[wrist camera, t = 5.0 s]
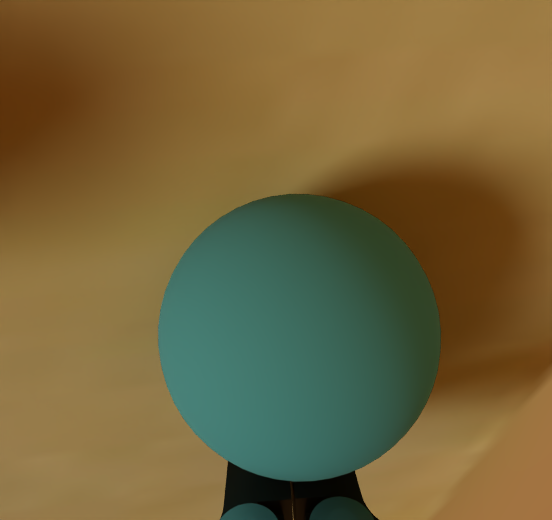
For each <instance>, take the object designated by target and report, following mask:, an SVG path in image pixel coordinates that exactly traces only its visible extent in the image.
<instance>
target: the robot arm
mask: <svg viewBox="0 0 552 520" xmlns="http://www.w3.org/2000/svg"><path fill="white" fill-rule="evenodd" d="M292 506H293V512H292ZM293 518H294V520H379V519H377V518H376V517H375V516H374V515H373V514H372V513H371V512H370V510H369V509H368V508H367V506H366V504H365V503H364V501H363V498H362V495H361V492H360V488H359V484H358V481H357V477H356V474H355V471H352V472H350V473H348V474H344V475H341V476H337V477H334V478H330V479H324V480H317V481H286V480H277V479H272V478H268V477H264V476H260V475H257V474H255V473H252V472H250V471H247V470H245V469H242V468H240V467H238V466H237V465H235V464H233V463H231V462H229V461H228V467H227V478H226V488H225V498H224V507H223V513H222V516H221V518H220V520H293Z"/></svg>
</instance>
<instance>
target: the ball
mask: <svg viewBox="0 0 552 520" xmlns="http://www.w3.org/2000/svg"><path fill="white" fill-rule="evenodd" d="M158 346H159V353H160V360H161V366H162V370H163V374H164V377H165V381H166V384H167V387H168V390H169V392H170V394H171V397H172V399H173V401H174V404H175V405H176V407H177V409H178V410H179V412H180V414H181V415H182V417H183V419H184V420H185V421H186V423H187V424H188V425H189V426H190V428H191V429H192V430H193V431H194V433H195V434H196V435H197V436H198V437H199V438H200V439H201V440H202V441H203V442H204V443H206V444H207V445H208V446H209V447H210V448H211V449H212V450H214V451H215V452H216V453H218V454H219V455H220V456H222V457H223V458H224V459H226V460H227V461H229V462H231V463H233V464H235V465H237V466H238V467H240V468H242V469H245V470H247V471H250V472H252V473H255V474H257V475H260V476H264V477H268V478H272V479H277V480H286V481H317V480H324V479H330V478H334V477H337V476H341V475H344V474H348V473H350V472H352V471H355V470H357V469H359V468H362V467H364V466H366V465H367V464H369V463H371V462H372V461H374V460H376V459H378V458H379V457H381V456H382V455H383V454H384V453H386V452H387V451H388V450H390V449H391V448H392V447H393V446H394V445H395V444H396V443H397V442H398V441H399V440H400V439H401V438H402V437H403V436H404V435H405V434H406V433H407V432H408V431H409V429H410V428H411V427H412V425H413V424H414V423H415V421H416V420H417V419H418V417H419V415H420V414H421V412H422V410H423V408H424V407H425V405H426V403H427V401H428V398H429V396H430V393H431V391H432V388H433V386H434V382H435V378H436V374H437V371H438V365H439V357H440V349H441V328H440V320H439V312H438V308H437V304H436V300H435V296H434V293H433V290H432V288H431V285H430V283H429V281H428V278H427V276H426V274H425V272H424V271H423V269H422V267H421V265H420V264H419V262H418V260H417V258H416V257H415V256H414V254H413V253H412V252H411V250H410V249H409V248H408V246H407V245H406V244H405V242H404V241H403V240H402V239H401V238H400V237H399V236H398V235H397V234H396V233H395V232H394V231H393V230H392V229H390V228H389V227H388V226H387V225H385V224H384V223H383V222H381V221H380V220H379V219H378V218H376V217H374V216H372V215H371V214H369V213H367V212H366V211H364V210H362V209H360V208H358V207H355V206H353V205H350V204H348V203H346V202H343V201H339V200H336V199H332V198H328V197H324V196H317V195H309V194H286V195H278V196H271V197H267V198H263V199H260V200H256V201H253V202H250V203H248V204H245V205H243V206H241V207H238V208H236V209H234V210H233V211H231V212H229V213H227V214H226V215H224V216H222V217H221V218H219V219H218V220H217V221H215V222H214V223H213V224H211V225H210V226H209V227H208V228H206V229H205V230H204V231H203V232H202V233H201V234H200V235H199V236H198V237H197V238H196V239H195V240H194V241H193V243H192V244H191V245H190V247H189V248H188V249H187V251H186V252H185V253H184V255H183V256H182V258H181V259H180V261H179V263H178V265H177V266H176V268H175V270H174V272H173V274H172V276H171V278H170V281H169V283H168V286H167V288H166V291H165V294H164V298H163V302H162V306H161V310H160V318H159V326H158Z"/></svg>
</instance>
